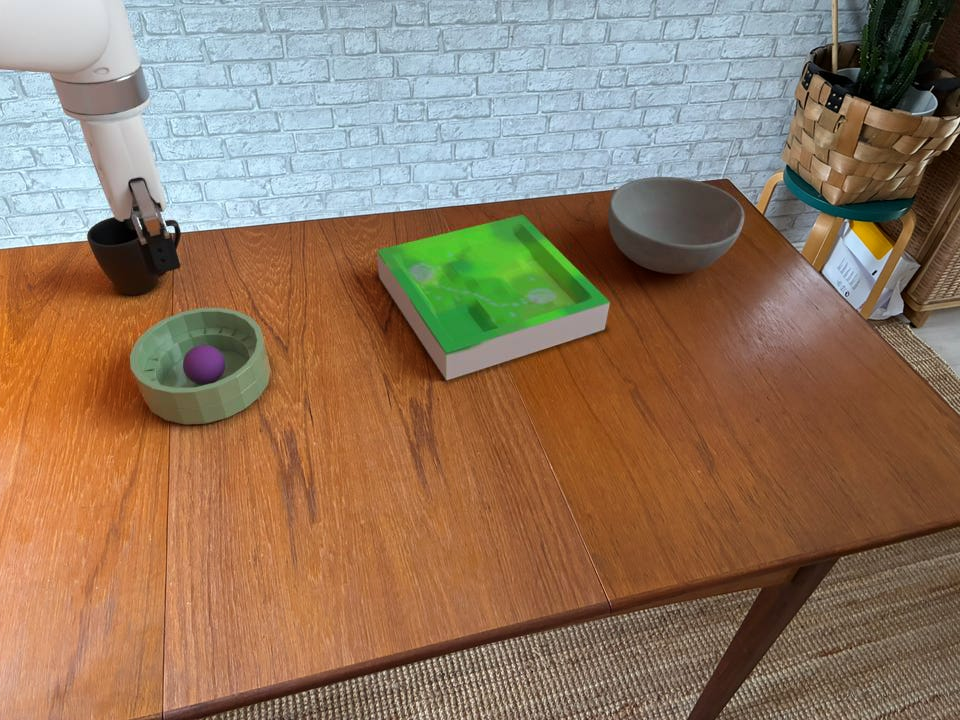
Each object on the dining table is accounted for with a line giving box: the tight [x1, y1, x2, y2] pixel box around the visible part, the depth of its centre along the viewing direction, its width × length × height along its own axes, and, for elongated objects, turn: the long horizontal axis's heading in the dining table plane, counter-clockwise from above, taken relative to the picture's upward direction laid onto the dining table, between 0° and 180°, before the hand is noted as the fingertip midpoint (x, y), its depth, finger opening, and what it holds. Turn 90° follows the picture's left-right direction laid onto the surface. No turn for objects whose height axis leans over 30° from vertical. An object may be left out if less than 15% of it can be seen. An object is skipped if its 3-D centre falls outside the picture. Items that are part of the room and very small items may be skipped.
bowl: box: [607, 176, 745, 275], centre depth 111 cm, size 20×20×10 cm
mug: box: [86, 216, 182, 297], centre depth 103 cm, size 8×12×10 cm
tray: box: [376, 214, 611, 381], centre depth 103 cm, size 25×25×5 cm
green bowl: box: [129, 307, 272, 425], centre depth 89 cm, size 16×16×6 cm
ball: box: [183, 345, 225, 385], centre depth 89 cm, size 5×5×5 cm
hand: (153, 247), depth 76 cm, fingers open, 9 cm apart
